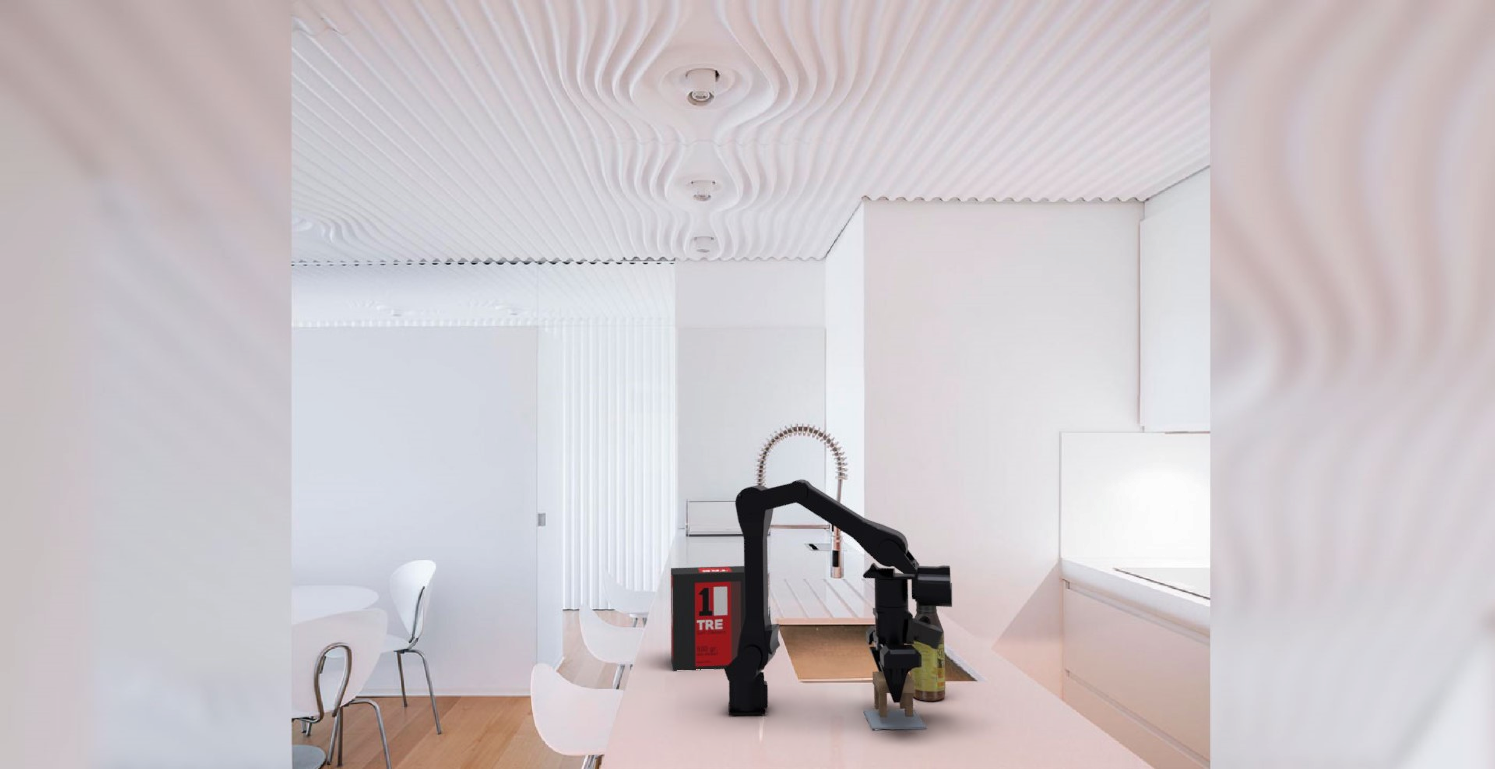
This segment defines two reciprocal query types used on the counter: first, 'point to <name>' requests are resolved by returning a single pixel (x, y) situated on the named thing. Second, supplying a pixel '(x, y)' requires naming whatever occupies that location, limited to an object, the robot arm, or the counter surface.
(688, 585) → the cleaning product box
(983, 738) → the counter surface
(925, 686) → the sauce bottle
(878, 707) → the stool
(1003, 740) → the counter surface
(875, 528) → the robot arm
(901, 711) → the pad
